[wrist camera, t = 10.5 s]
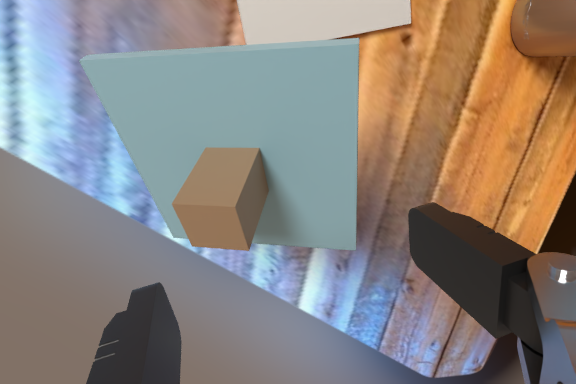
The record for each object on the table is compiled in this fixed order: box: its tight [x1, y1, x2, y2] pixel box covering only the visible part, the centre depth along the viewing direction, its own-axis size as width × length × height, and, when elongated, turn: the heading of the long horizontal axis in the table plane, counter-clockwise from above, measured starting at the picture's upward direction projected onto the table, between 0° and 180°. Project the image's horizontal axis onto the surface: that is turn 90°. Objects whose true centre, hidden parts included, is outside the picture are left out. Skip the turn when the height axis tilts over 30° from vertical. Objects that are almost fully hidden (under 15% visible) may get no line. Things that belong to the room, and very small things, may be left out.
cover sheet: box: [79, 38, 359, 251], centre depth 21 cm, size 15×15×6 cm
